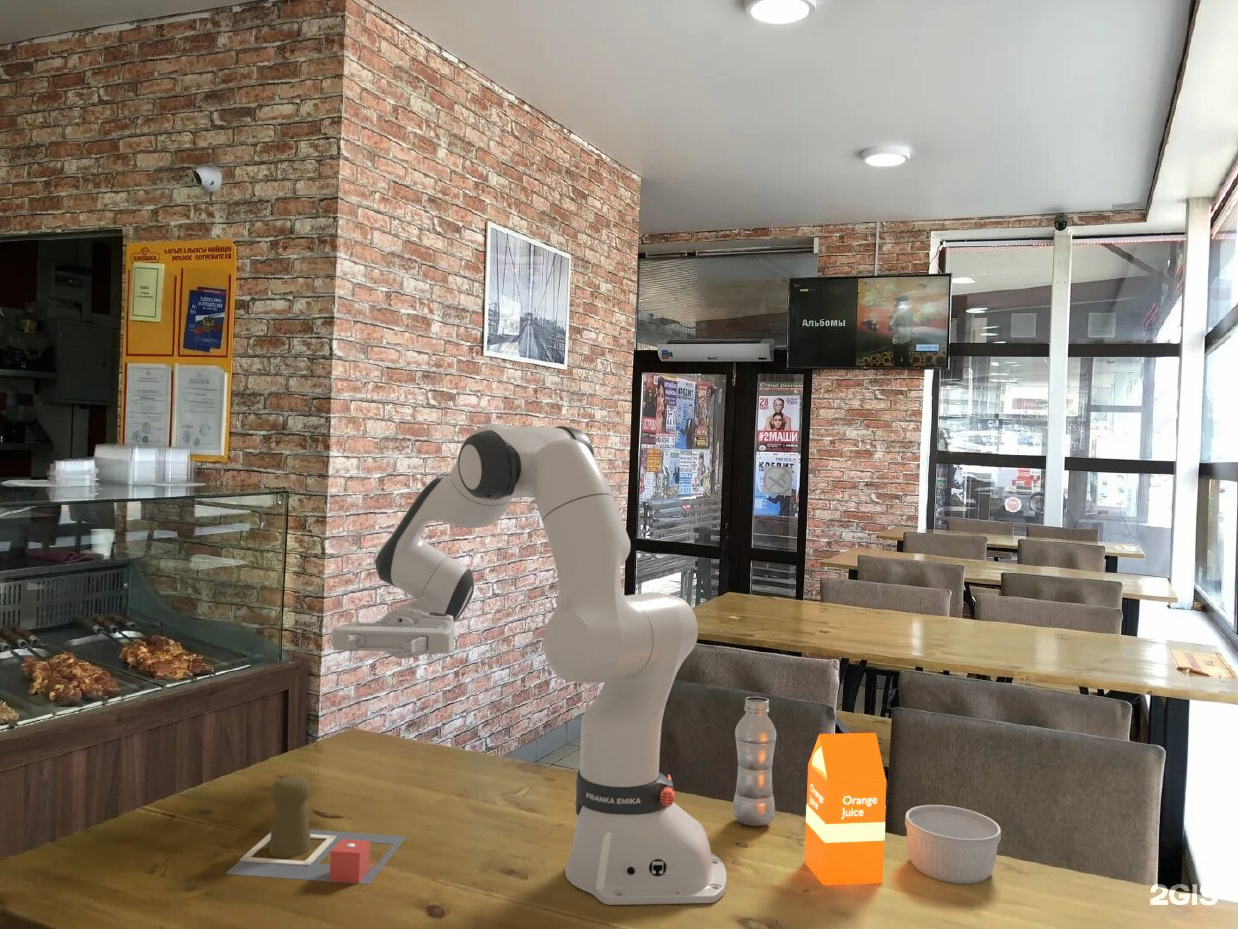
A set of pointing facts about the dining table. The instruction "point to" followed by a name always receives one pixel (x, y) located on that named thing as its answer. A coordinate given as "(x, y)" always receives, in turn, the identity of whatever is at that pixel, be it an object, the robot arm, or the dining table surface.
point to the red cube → (350, 860)
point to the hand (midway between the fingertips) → (379, 647)
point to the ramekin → (952, 843)
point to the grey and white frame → (312, 858)
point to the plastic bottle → (755, 764)
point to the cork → (290, 817)
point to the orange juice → (846, 810)
